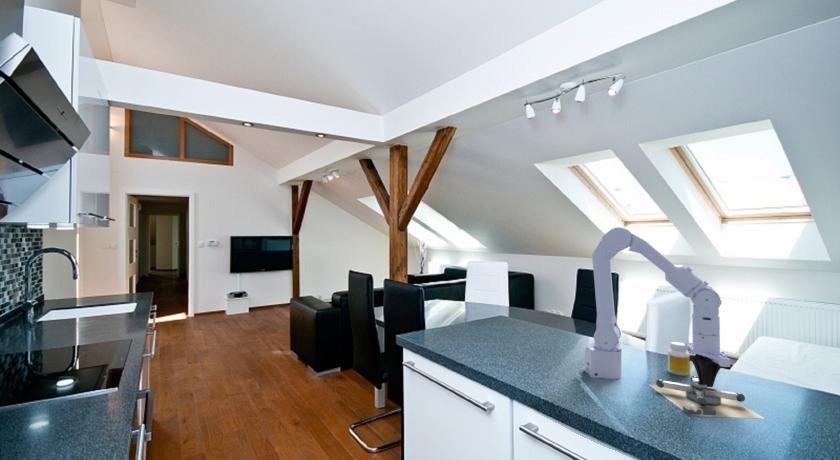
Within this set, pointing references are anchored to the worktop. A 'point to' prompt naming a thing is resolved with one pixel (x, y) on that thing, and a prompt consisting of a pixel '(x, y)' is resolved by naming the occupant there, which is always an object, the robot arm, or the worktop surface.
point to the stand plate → (724, 410)
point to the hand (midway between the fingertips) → (706, 385)
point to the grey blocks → (699, 410)
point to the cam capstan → (701, 392)
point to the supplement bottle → (678, 359)
